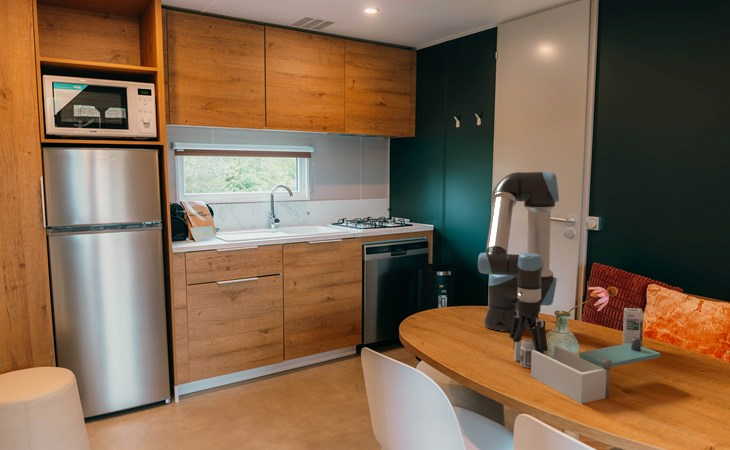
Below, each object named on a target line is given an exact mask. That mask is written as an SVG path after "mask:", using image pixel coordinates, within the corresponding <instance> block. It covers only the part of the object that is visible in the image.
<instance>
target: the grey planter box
mask: <svg viewBox="0 0 730 450" xmlns="http://www.w3.org/2000/svg"><path fill="white" fill-rule="evenodd" d="M553 353H554V354H553V358H552V357H550V356H548V355H546V354H544V353H543V352H542V353H540V352H538V351H535V350H532V351H531V368H530V377H531V378H533V379H535V380H536V381H538V382H540V383H542V384H544V385H545V386H548V387H550V388H551V389H553V390H555V391H557V392H559V393H560V394H562V395H564V396H566V397H568V398H570V399H571V400H572V401H575V402H577V403H579V404H580V405H581V404H586V403H591V402H594V401H598V400H599V401H600V400H603V399H609V396H610V377H611V376H610V372H611V367H610V368H605V367H603V366H600V365H598V364H596V363H594V362H591V361H589V360H587V359H584V358H582V357H580V356H579V354H577V353H575V352H572V351H569V350H567V349H565V348H562V347H560V346H558V345H555V346H553Z"/></svg>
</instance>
